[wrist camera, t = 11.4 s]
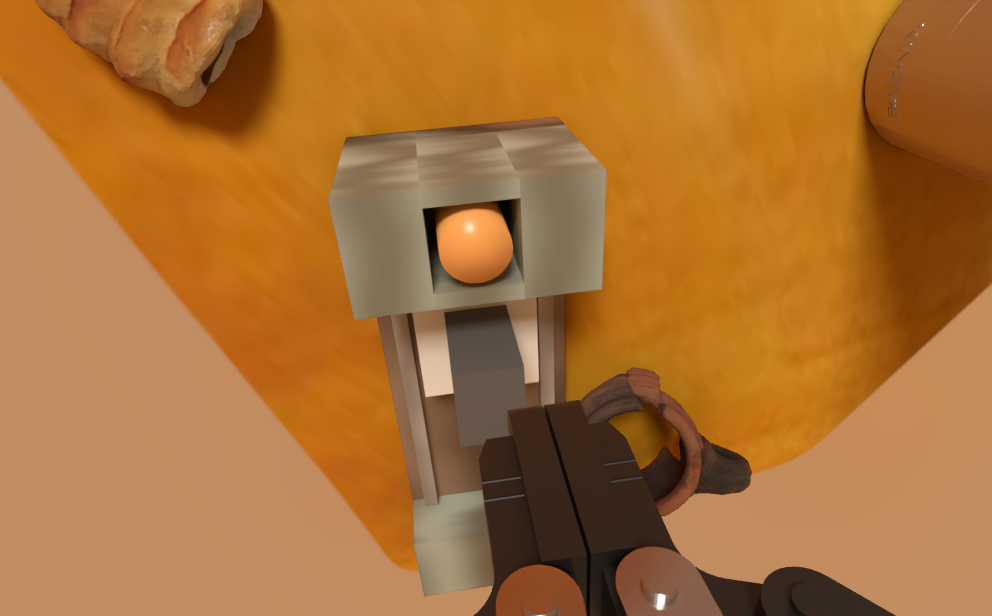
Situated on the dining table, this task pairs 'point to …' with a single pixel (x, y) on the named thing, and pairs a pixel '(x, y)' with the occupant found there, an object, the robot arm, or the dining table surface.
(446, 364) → the carriage
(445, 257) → the plunger
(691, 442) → the pottery mug
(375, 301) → the rail base
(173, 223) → the dining table surface
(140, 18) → the pastry
